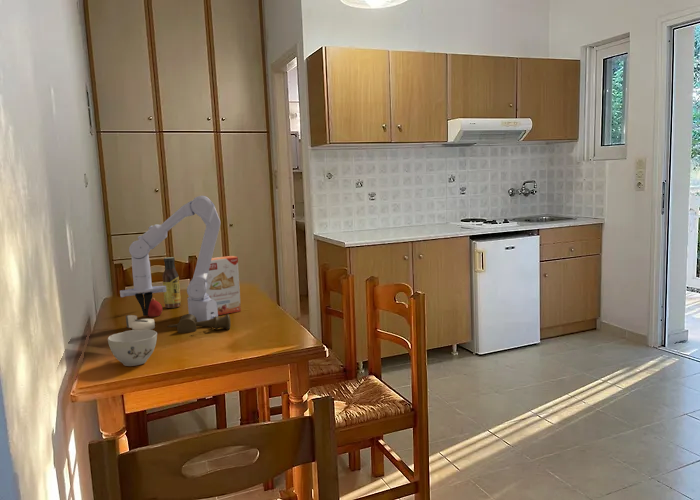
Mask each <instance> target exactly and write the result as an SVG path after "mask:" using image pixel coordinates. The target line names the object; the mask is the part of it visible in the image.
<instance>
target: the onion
mask: <svg viewBox="0 0 700 500" xmlns="http://www.w3.org/2000/svg"><path fill="white" fill-rule="evenodd" d="M162 313H163V306H162V304H161V303H160V302H159V301H158V300H156V298H155V297H152V299H151V302H150V305H149V309H148V315H147V316H148V317H150V318H155V317H159V316H160V315H162Z"/></svg>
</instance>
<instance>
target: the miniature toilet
mask: <svg viewBox="0 0 700 500" xmlns="http://www.w3.org/2000/svg"><path fill="white" fill-rule="evenodd" d="M125 322H126V323H125V324H126V328H128V329H130V328H131V329H132V330H139V331H141V330H153V329H155V327H156V326H155V325H156V323H155V319H154V318H140V319H138V316H137V315H134V314H128V315H125ZM132 330H131V331H132Z"/></svg>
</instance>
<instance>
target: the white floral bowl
mask: <svg viewBox="0 0 700 500" xmlns="http://www.w3.org/2000/svg"><path fill="white" fill-rule="evenodd" d="M157 339H158V332H157V331H155V330H153V329H151V330H141V331H139V330H125V331H123V332H118V333H113V334H111V335H109V336H108V337H107V344H108V346H109V350H110V351H111V353H112V355H113V356H114V357H115V359H116V360H118V361H119V363H121V364H123V366H125V367H135V366H139V365H144V364H145V363H146V362H147V361H148V360H149V358H150V357H151V356H152V354H153V353H154V351H155V347H156V345H157Z"/></svg>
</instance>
